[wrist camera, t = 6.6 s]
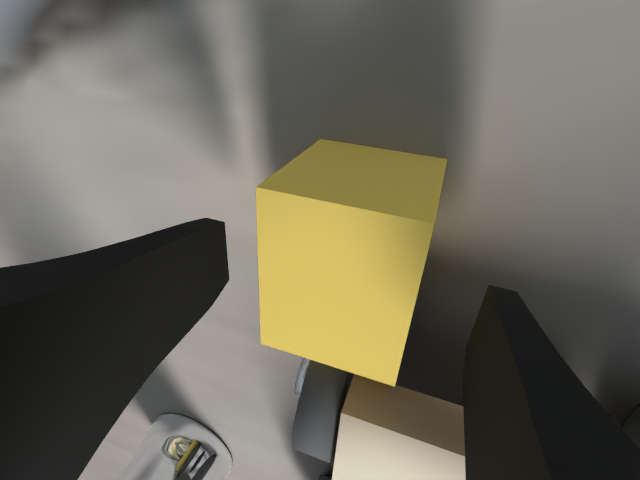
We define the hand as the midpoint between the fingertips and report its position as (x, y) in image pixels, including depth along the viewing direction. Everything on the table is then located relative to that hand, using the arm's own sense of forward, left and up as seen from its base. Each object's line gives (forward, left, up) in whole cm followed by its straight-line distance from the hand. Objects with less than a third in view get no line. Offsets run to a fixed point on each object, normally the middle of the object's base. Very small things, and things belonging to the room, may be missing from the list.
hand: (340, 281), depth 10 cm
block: (0, 0, -4) cm, 4 cm away
